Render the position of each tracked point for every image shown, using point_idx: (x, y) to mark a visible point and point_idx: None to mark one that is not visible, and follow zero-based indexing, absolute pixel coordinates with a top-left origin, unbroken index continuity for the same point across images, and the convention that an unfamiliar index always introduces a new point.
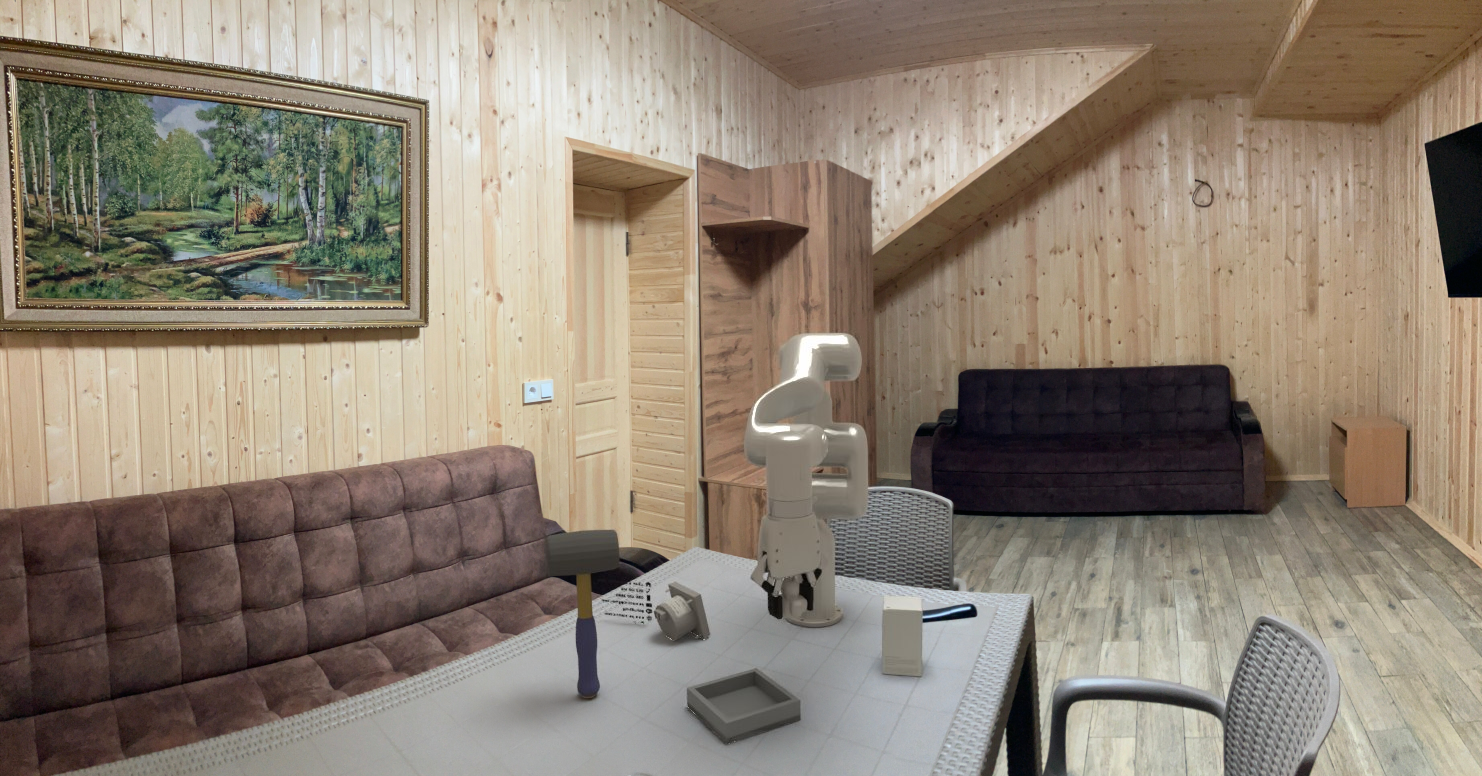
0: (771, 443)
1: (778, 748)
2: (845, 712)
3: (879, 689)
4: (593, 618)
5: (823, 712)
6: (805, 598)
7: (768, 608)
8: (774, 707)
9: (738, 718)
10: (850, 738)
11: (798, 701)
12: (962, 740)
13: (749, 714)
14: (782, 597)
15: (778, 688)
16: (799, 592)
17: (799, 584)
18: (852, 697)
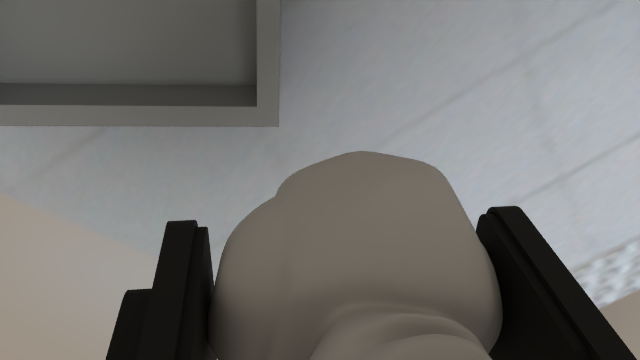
0: None
1: (136, 182)
2: (412, 129)
3: (594, 76)
4: None
5: (362, 96)
6: (497, 345)
7: (124, 308)
8: (170, 121)
9: (12, 120)
10: None
11: (270, 124)
12: None
13: (62, 117)
14: (295, 351)
15: (259, 9)
16: (533, 299)
17: (595, 349)
18: (496, 71)
